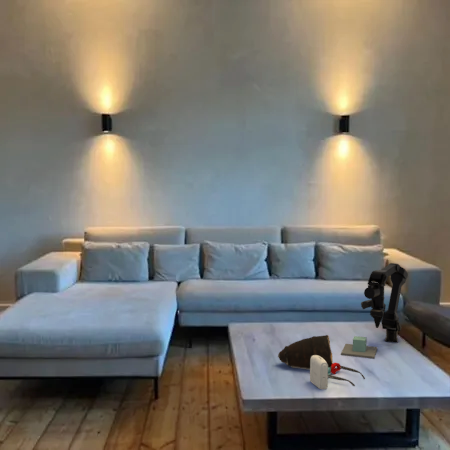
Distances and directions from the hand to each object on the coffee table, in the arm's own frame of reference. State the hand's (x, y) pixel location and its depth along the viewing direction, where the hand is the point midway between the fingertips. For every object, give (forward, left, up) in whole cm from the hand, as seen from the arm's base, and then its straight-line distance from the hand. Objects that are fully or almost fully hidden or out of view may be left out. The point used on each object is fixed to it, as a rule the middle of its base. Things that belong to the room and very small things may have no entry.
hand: (377, 325), depth 268 cm
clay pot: (+39, -29, -12) cm, 50 cm away
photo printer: (+59, -19, -12) cm, 63 cm away
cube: (+9, -8, -11) cm, 16 cm away
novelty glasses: (+48, -10, -13) cm, 51 cm away
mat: (+9, -8, -12) cm, 17 cm away
